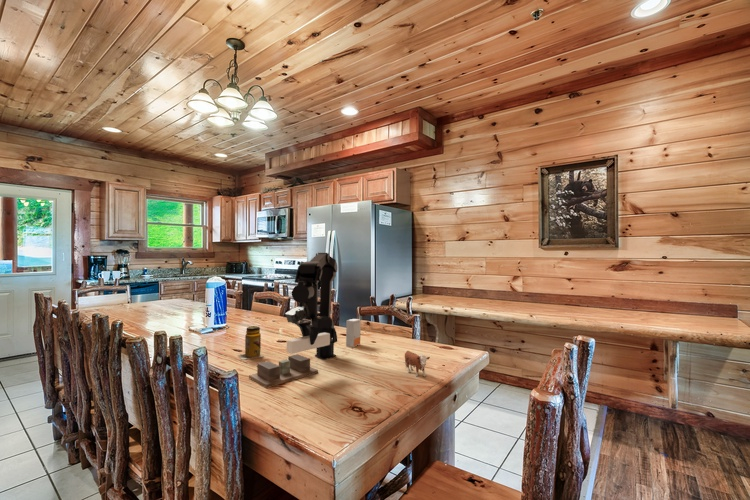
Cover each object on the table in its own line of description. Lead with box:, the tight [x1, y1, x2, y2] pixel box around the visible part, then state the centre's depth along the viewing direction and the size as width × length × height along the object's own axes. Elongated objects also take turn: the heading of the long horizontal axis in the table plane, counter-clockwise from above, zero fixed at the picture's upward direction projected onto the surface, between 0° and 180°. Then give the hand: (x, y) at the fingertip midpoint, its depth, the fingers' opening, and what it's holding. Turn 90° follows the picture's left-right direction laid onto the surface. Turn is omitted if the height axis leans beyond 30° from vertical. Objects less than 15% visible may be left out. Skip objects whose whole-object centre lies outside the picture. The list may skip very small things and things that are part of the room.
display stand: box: [248, 353, 319, 389], centre depth 121 cm, size 20×12×5 cm, turn 135°
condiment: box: [237, 325, 264, 361], centre depth 144 cm, size 7×8×12 cm
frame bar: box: [286, 332, 330, 355], centre depth 120 cm, size 16×3×4 cm, turn 137°
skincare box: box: [345, 318, 362, 348], centre depth 162 cm, size 6×4×12 cm
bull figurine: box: [404, 350, 431, 378], centre depth 123 cm, size 4×13×8 cm, turn 25°
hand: (309, 343), depth 120 cm, fingers closed on frame bar, 3 cm apart
